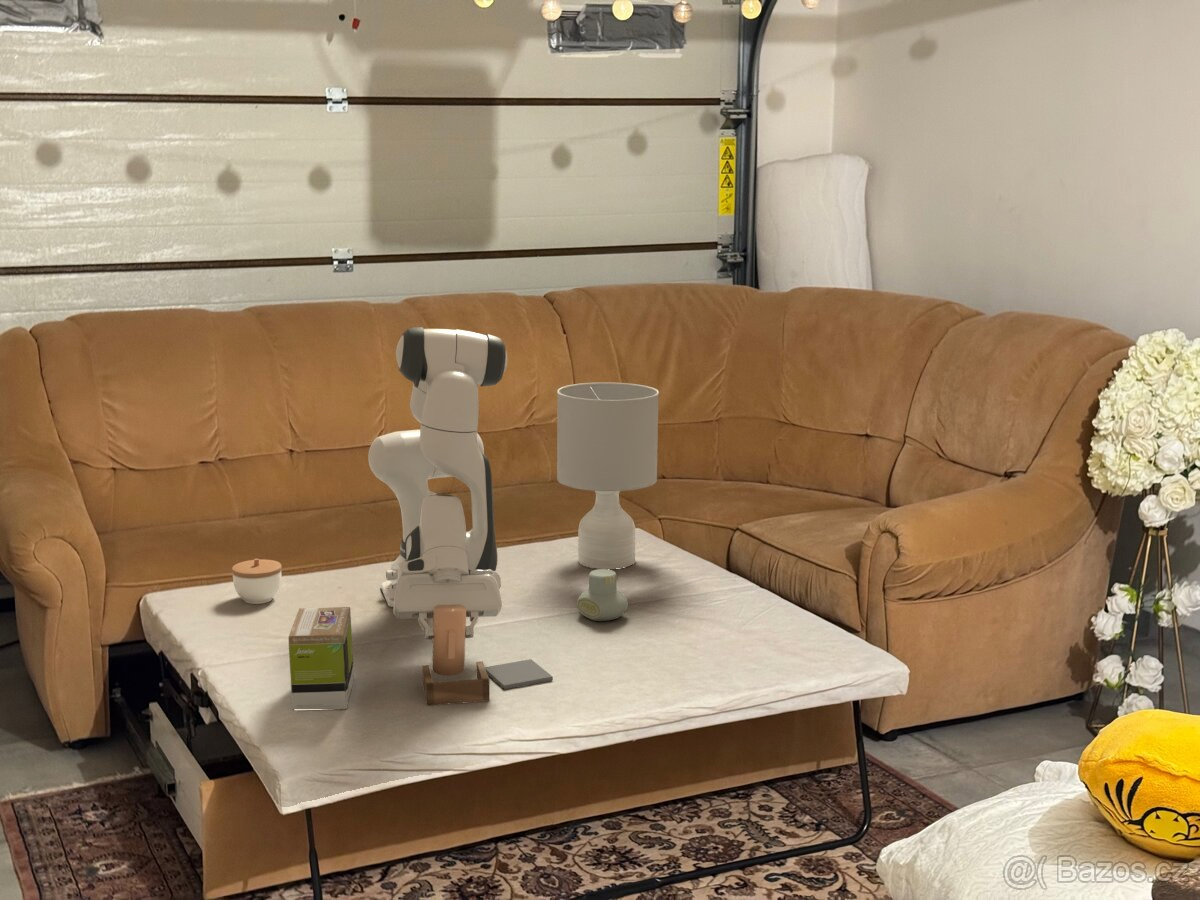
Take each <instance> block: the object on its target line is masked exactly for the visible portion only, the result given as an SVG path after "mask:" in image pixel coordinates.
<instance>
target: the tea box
mask: <svg viewBox="0 0 1200 900" xmlns="http://www.w3.org/2000/svg"><path fill="white" fill-rule="evenodd" d="M351 614H352V613H351V606H340V607H339V606H338V607H337V606H336V607H333V606H332V607H309V608H306V607H305V608H300V607H299V609H298V611H297V614H296V616H295V619H294V621H293V623H292V627H291V629H290V632H289V634H288V653H289V655H288V656H289V672H290V673H289V674H290V690H291V692H290V693H291V707H292V710H293V709H342V710H346V709H347V708H348V703H349V701H350V695H351V691H352V688H353V684H354V680H355V667H354V666H355V665H354V653H353V652H354V651H353V650H354V649H353V634H352V633H353V632H352V616H351Z"/></svg>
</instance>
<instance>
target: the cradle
mask: <svg viewBox="0 0 1200 900" xmlns="http://www.w3.org/2000/svg"><path fill="white" fill-rule="evenodd" d="M475 663H476V665H475V666H476V679H475V678H474V679H462V680H461V679H460V680H449V681H448V680H447V681H445V680H444V681H433V677H432V673H431V668H430V666H429V664H425V665H424V664H423V665H421V668H422V669H421V673H422V678H421V679H422V680H421V681H422V688H423V693H424V694H423V695H424V697H425V701H426V702H427V703H426V702H425V703H426V706H427V705H428V706H439V705H438V704H441V705H449V704H448V703H455V704H464V703H463V702H468V703H475V702H474V701H482V702H489V701H488V700H490V699H491V698H490V696H491V695H490V693H491V692H490V677H489V675H488V674H487V672H486V669H485V667H486V666H485V664H484V661H483V660H482V661H481V660H480V661H476V662H475Z"/></svg>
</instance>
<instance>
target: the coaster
mask: <svg viewBox="0 0 1200 900" xmlns="http://www.w3.org/2000/svg"><path fill="white" fill-rule="evenodd" d="M485 669H486V672H487V675H488V677H489V678H491V679H492V678H493V679H494V680H495V681H496V683H497V684H498V685H499V686H500V688H502V687H503V688H504V689H503V688H502V689H503V690H508V689H507V688H509V689H514V688H519V687H525V686H531V685H534V684H535V683H536V684H541V682H542V683H546V682H545V681H547V682H551V681H552V680H553V679H554V677H553V675H552V674H550V673H549V672H548V671H547V670H545V669H544V668H543V667H541V666H540V665H539V664H538V663H537V662H535V661H534V660H533V659H532V658H529V659H524V660H519V661H512V662H507V663H500V664H496V665H495V664H494V665H491V666H490V665H489V666H485ZM493 679H492V680H493ZM494 680H493V681H494ZM495 681H494V682H495ZM552 682H553V681H552ZM536 684H535V685H536ZM524 685H525V686H524Z"/></svg>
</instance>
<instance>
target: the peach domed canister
mask: <svg viewBox="0 0 1200 900" xmlns="http://www.w3.org/2000/svg"><path fill="white" fill-rule="evenodd" d="M432 619H433V621H432V622H433V623H432V627H433V629H434V631H433V632H434V637H433V639H432V659H431V660H432V661H431V662H432V663H431V668H432V669H431V670H432V672H433V673H434V674H435V675H436V674H437V675H440V676H446V677H448V676H449V677H450V676H458V675H460V674H462V673H464V672H465V671H466V670H465V667H466V666H465V665H466V663H465V661H466V638H465V636H466V626H467V617H466V607H465V606H463V605H460V604H454V605H437V606H435V607H434V615H433V618H432Z"/></svg>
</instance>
